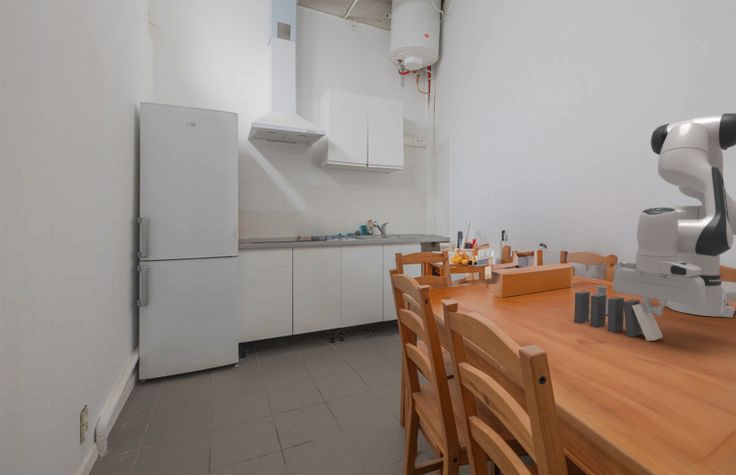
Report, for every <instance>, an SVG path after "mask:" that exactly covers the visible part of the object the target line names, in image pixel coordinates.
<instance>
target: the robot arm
mask: <svg viewBox="0 0 736 475" xmlns="http://www.w3.org/2000/svg"><path fill="white" fill-rule="evenodd" d="M649 141H650V143H649V144H650V147H651V150H652V152H653V153H655V154H656V155H658V157H659V158H658V162H657V173H658V174H659V176H660V178H661V179H662V180H663V181H665V182H667V183H668V184H671V185H674V186H676V187H678V190H679V192H680V193H681V194H683V195H684V196H687V197H689V198H693V199H696V200H698V201H700V203H701V205H676V206H669V207H653V208H647V209H644V210H642V211H641V213H640V216H639V219H638V224H637V233H636V240H637V243H638V246H637V247H638V248H637V250H636V254H635V256H636V261H635V262H625V261H621V262H618V263H616V264H615V265H614V266H613V275H614V276H613V280H612V289H613V291H614V292H615V293H620V294H626V295H633V296H637V297H641V298H642V300H641V301H642V303H644V304H645V305H646V307H647V313H652V314H653V315H657V316H662V314H663V309H664V307H667V308H669V309H670V310H672V311H677V312H680V313H684V314H690V315H696V316H706V317H721V318H734V315H733V314H735V312H736V308H735V307H734V306H729V303H728V302H727V300H728V299H727V296H728V295H727V293H726V292H725V290H724V289H723V287H722V286H721V285H722V279H723V276H722V274H720V268H721V267H720V266H721V265H720V262H721V261H720V260H721V255H722V254H724V253H726V252H727V251H730V250H731V248H732V246H733V244H734V236H736V201H735V200H734V199H733V198H732V197H731V196H730V195H729V193H728V192H727V190H726V187H725V182H724V155H723V151H726V150H728V149H729V148H731V147H735V146H736V113H735V112H734V113H733V112H732V113H729V112H728V113H722V114H716V115H707V116H700V117H694V118H691V119H686V120H682V121H681V120H680V121H676V122H674V123H666V124H663V125H660V126H658V127H656V128H655V129H654V130H653V132H652V134H651V137H650V140H649ZM653 299H655V300H656V299H657V300H658V301H657V303H658V304H659V305H658V306H653V304H652V303H651V301H652V300H653ZM734 311H735V312H734Z"/></svg>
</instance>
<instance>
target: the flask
mask: <svg viewBox="0 0 736 475" xmlns="http://www.w3.org/2000/svg"><path fill="white" fill-rule="evenodd" d="M596 289H597V291H596V294H604V295H606V316H608V299H609V298H608V297H607V289H608V287H607V286H606V285H596ZM589 313H591V307H589Z"/></svg>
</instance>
